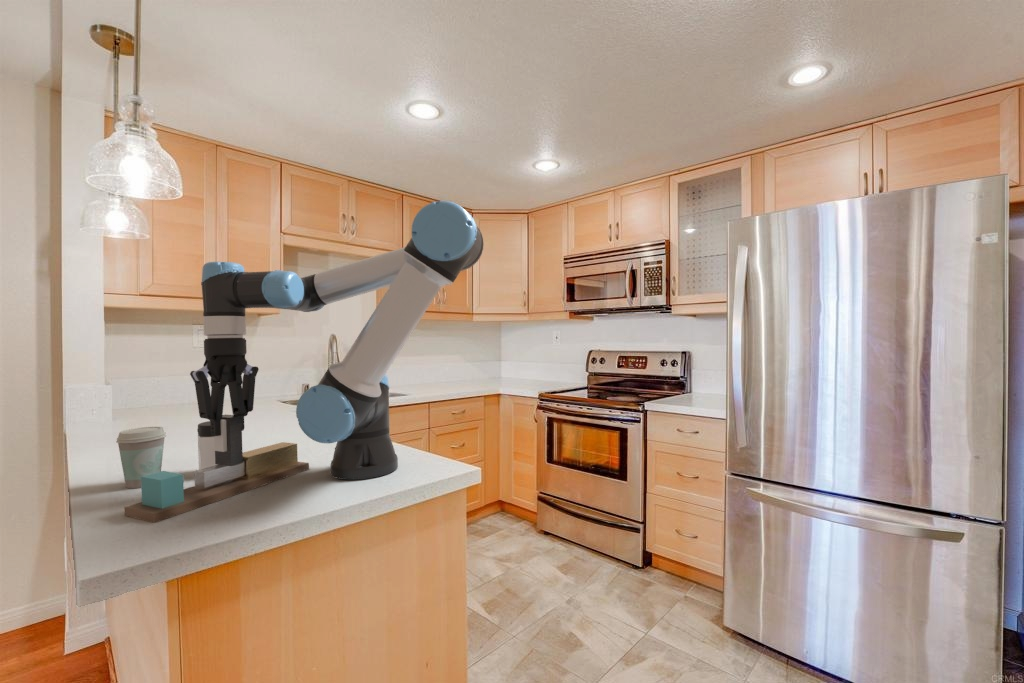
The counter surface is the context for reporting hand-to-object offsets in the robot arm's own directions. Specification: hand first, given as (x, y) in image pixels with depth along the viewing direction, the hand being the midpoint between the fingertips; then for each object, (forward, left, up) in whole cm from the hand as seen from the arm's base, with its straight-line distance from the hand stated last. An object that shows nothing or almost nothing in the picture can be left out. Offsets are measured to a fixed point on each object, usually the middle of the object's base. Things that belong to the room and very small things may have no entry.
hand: (228, 448), depth 95 cm
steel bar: (0, -4, -6) cm, 7 cm away
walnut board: (0, 0, -9) cm, 9 cm away
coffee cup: (+22, +5, -9) cm, 24 cm away
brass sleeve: (0, -9, -7) cm, 11 cm away
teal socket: (0, +13, -7) cm, 14 cm away
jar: (+14, -7, -9) cm, 18 cm away
